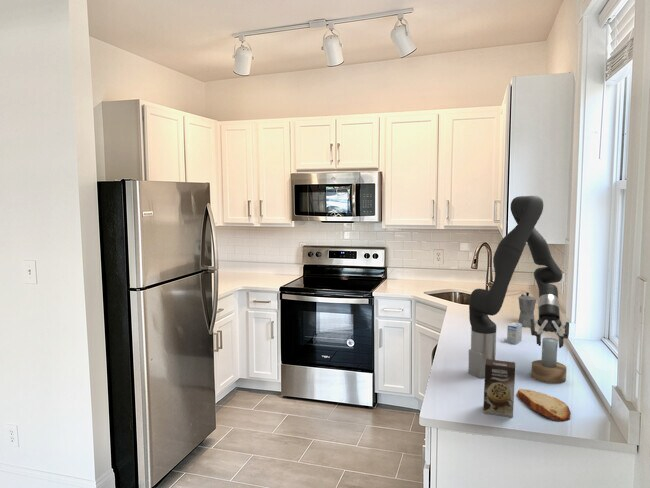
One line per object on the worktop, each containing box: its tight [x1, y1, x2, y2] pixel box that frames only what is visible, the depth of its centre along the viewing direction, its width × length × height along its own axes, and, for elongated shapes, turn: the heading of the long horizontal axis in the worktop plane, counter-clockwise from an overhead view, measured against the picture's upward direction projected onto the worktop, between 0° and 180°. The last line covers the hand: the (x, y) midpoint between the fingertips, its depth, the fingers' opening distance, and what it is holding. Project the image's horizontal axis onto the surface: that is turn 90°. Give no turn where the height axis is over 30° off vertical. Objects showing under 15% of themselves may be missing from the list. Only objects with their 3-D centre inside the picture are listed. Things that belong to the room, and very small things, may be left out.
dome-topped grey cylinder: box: [540, 337, 559, 368], centre depth 180 cm, size 5×5×10 cm
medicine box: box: [506, 321, 523, 345], centre depth 226 cm, size 8×4×9 cm, turn 141°
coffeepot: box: [517, 292, 537, 329], centre depth 256 cm, size 15×9×18 cm, turn 176°
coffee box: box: [482, 359, 516, 418], centre depth 152 cm, size 9×6×16 cm
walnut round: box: [530, 359, 567, 384], centre depth 181 cm, size 12×12×5 cm
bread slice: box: [515, 388, 572, 423], centre depth 156 cm, size 18×18×4 cm
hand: (550, 345), depth 179 cm, fingers open, 6 cm apart
